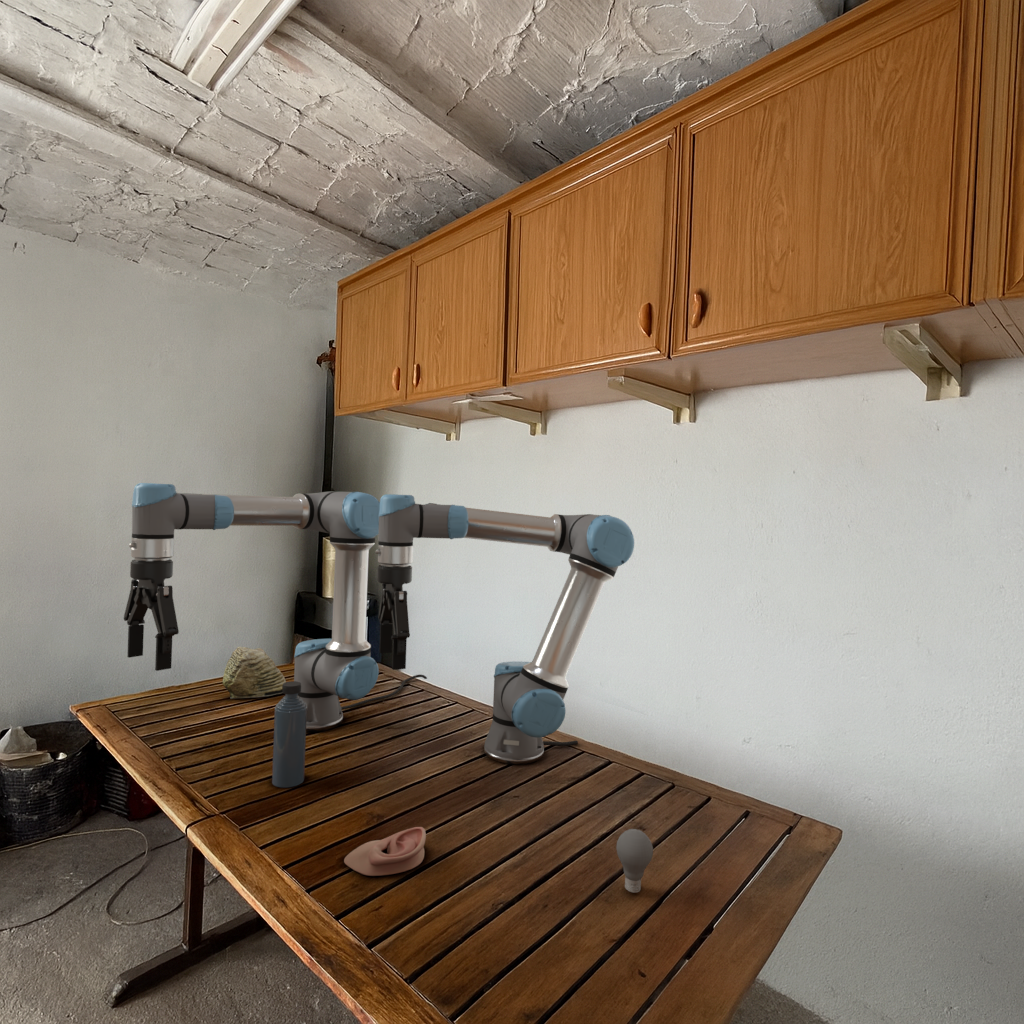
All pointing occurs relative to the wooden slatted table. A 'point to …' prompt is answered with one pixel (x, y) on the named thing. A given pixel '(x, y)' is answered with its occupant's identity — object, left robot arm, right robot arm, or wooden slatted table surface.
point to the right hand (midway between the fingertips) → (391, 660)
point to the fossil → (252, 674)
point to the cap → (291, 687)
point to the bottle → (289, 741)
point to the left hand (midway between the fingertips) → (148, 662)
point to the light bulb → (634, 857)
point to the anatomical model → (389, 853)
